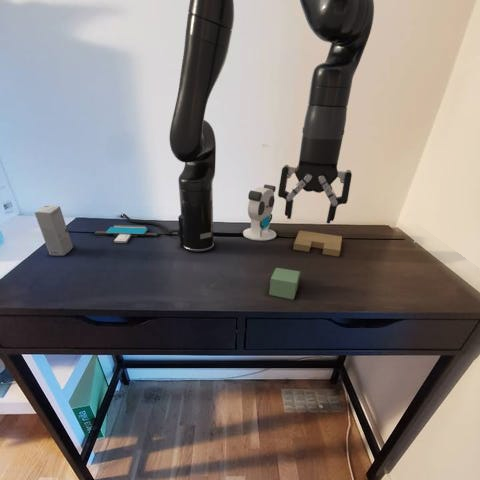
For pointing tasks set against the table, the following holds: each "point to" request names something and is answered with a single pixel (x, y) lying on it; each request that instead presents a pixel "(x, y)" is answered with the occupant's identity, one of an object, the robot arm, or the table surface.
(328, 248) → the base pad
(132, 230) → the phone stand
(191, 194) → the robot arm
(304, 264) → the table surface
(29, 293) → the table surface
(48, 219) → the cosmetic box
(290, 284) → the green rectangular block
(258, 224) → the panda figurine
